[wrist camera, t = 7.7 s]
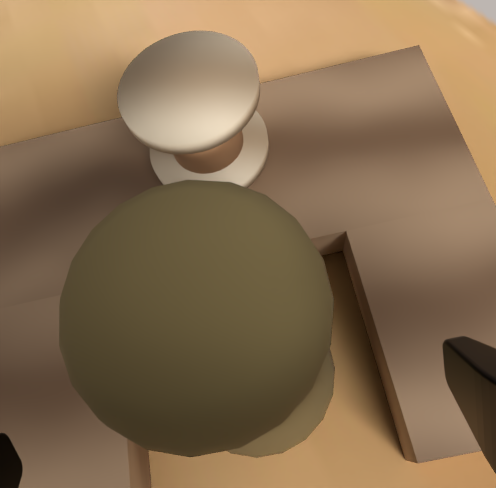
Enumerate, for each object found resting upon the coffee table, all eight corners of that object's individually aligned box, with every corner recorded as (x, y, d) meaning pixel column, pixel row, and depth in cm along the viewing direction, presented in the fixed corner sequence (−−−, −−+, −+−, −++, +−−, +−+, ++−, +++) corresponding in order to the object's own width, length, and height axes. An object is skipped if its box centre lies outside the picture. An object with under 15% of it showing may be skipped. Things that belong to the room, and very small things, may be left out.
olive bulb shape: (238, 495, 16) (103, 607, 6) (150, 356, 18) (-56, 259, 8) (369, 385, 16) (456, 310, 6) (269, 267, 19) (217, 75, 9)
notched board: (566, 428, 15) (710, 423, 10) (5, 539, 16) (-154, 592, 11) (410, 77, 22) (442, -43, 16) (18, 171, 23) (-75, 87, 17)
